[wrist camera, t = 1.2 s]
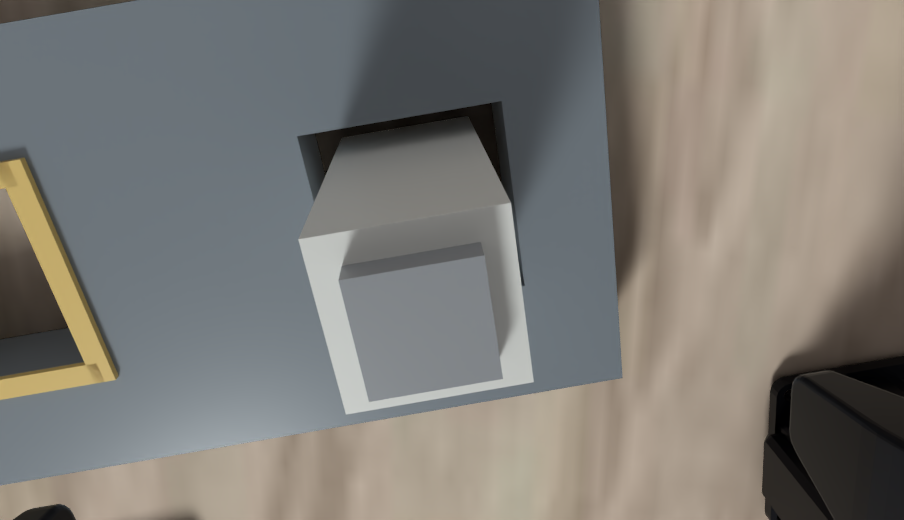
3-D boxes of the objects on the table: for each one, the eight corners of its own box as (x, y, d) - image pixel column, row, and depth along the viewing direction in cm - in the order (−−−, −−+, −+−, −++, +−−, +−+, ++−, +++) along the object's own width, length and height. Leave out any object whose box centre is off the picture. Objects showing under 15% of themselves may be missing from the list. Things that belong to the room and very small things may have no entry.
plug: (467, 116, 18) (517, 214, 10) (485, 233, 19) (540, 400, 12) (341, 137, 18) (292, 253, 10) (368, 254, 19) (343, 434, 12)
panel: (567, -69, 16) (596, -80, 14) (598, 335, 21) (624, 381, 19) (-283, 77, 16) (-407, 93, 14) (-62, 449, 21) (-124, 510, 19)
